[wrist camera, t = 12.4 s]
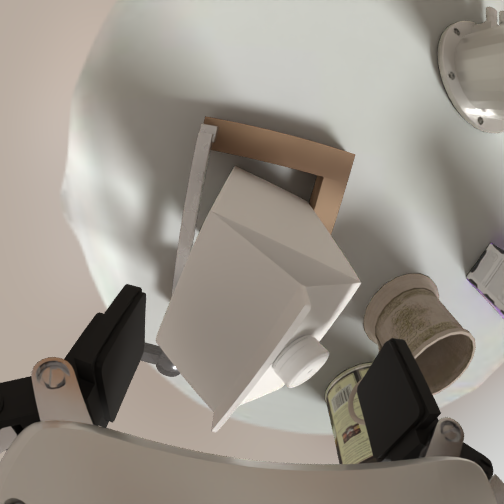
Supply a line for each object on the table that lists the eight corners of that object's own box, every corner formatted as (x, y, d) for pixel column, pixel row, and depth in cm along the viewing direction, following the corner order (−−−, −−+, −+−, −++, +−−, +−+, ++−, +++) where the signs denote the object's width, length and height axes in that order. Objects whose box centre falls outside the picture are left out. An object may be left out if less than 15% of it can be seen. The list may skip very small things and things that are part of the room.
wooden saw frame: (209, 117, 23) (205, 116, 21) (346, 151, 24) (355, 154, 22) (176, 307, 31) (171, 321, 28) (288, 330, 32) (290, 345, 29)
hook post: (159, 289, 27) (128, 348, 19) (200, 298, 27) (181, 362, 19) (157, 305, 28) (129, 365, 20) (197, 314, 28) (179, 379, 20)
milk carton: (201, 235, 28) (130, 402, 10) (234, 164, 25) (187, 252, 8) (270, 266, 29) (288, 449, 11) (307, 200, 26) (398, 341, 9)
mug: (426, 257, 28) (491, 319, 17) (444, 317, 31) (492, 380, 20) (312, 325, 31) (334, 414, 20) (347, 374, 35) (370, 452, 23)
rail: (208, 124, 24) (198, 123, 19) (222, 127, 24) (215, 126, 20) (179, 287, 30) (168, 312, 26) (190, 290, 30) (181, 316, 26)
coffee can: (379, 409, 38) (404, 485, 25) (315, 411, 37) (330, 497, 24) (408, 360, 34) (449, 442, 21) (337, 360, 34) (365, 459, 21)
